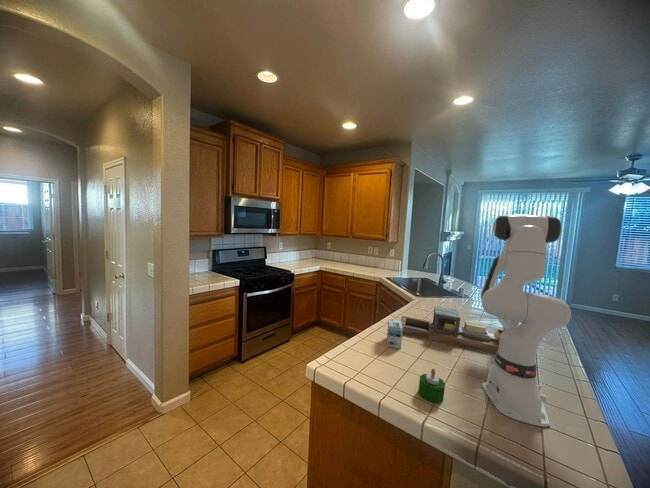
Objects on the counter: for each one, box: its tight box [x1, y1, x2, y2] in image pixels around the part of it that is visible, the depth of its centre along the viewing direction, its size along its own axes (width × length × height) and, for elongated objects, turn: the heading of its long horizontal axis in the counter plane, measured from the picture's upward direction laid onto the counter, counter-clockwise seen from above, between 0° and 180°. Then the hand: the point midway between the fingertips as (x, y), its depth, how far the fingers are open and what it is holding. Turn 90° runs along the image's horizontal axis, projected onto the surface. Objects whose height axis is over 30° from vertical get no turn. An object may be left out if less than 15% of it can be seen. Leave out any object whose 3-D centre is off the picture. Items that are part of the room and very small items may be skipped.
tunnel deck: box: [400, 306, 499, 355], centre depth 142 cm, size 18×54×14 cm, turn 69°
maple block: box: [463, 320, 487, 334], centre depth 137 cm, size 6×9×6 cm, turn 69°
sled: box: [442, 319, 504, 341], centre depth 137 cm, size 9×32×4 cm, turn 69°
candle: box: [417, 368, 446, 404], centre depth 91 cm, size 8×8×10 cm
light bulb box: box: [386, 318, 403, 350], centre depth 129 cm, size 11×7×11 cm, turn 169°
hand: (506, 336), depth 132 cm, fingers closed, pressing on sled
